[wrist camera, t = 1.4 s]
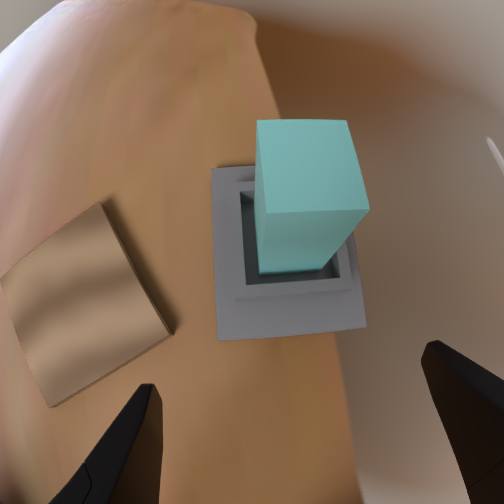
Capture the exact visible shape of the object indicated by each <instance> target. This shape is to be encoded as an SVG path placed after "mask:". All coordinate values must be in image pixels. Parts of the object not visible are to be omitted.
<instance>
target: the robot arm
mask: <svg viewBox="0 0 504 504" xmlns="http://www.w3.org/2000/svg"><path fill="white" fill-rule="evenodd" d="M421 365H422V368H423V371H424V374H425V377H426V380H427V383H428V387H429V390H430V393H431V396H432V399H433V401H434V404H435V407H436V409H437V411H438V414H439V416H440V418H441V421H442V423H443V426H444V428H445V431H446V433H447V436H448V439H449V441H450V444H451V446H452V449H453V452H454V454H455V457H456V460H457V463H458V465H459V468H460V471H461V474H462V477H463V480H464V483H465V486H466V489H467V493H468V496H469V499H470V502H471V504H504V380H502V379H501V378H499V377H498V376H496V375H494V374H493V373H491V372H490V371H488V370H486V369H485V368H483V367H482V366H480V365H478V364H477V363H475V362H474V361H472V360H470V359H469V358H467V357H465V356H464V355H462V354H461V353H459V352H457V351H456V350H454V349H452V348H451V347H449V346H448V345H446V344H444V343H443V342H441V341H439V340H435V341H431V342H429V343H427V345H426V348H425V350H424V353H423V355H422V358H421ZM162 454H163V413H162V399H161V397H160V395H159V393H158V391H157V389H156V386H155V385H154V384H141V385H140V386H139V387H138V389H137V390H136V391H135V393H134V394H133V395H132V397H131V398H130V399H129V401H128V402H127V404H126V405H125V406H124V408H123V409H122V410H121V412H120V413H119V414H118V416H117V417H116V418H115V420H114V421H113V422H112V424H111V425H110V427H109V428H108V429H107V431H106V432H105V433H104V435H103V436H102V437H101V439H100V440H99V442H98V443H97V444H96V446H95V447H94V448H93V450H92V451H91V452H90V454H89V455H88V457H87V458H86V459H85V461H84V462H85V463H82V465H81V466H80V467H79V469H78V470H77V471H76V473H75V474H74V475H73V477H72V478H71V479H70V480H69V482H68V483H67V484H66V485H65V486H64V487H63V488H62V490H61V491H60V492H59V493H58V494H57V495H56V496H55V497H54V498H53V499H52V500H51V501H50V502H49V503H48V504H159V491H160V478H161V465H162Z"/></svg>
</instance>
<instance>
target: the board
mask: <svg viewBox="0 0 504 504" xmlns="http://www.w3.org/2000/svg"><path fill="white" fill-rule="evenodd" d="M0 282H1V286H2V290H3V293H4V297H5V300H6V304H7V307H8V310H9V313H10V316H11V320H12V323H13V325H14V328H15V331H16V334H17V337H18V340H19V342H20V345H21V348H22V350H23V353H24V355H25V358H26V360H27V363H28V365H29V367H30V370H31V372H32V374H33V376H34V379H35V381H36V383H37V385H38V387H39V390H40V392H41V394H42V396H43V398H44V400H45V402H46V404H47V406H48V408H52V407H57V406H58V405H60V404H62V403H63V402H65V401H67V400H69V399H70V398H72V397H74V396H75V395H77V394H79V393H80V392H82V391H84V390H85V389H87V388H89V387H90V386H92V385H94V384H95V383H97V382H99V381H100V380H102V379H104V378H105V377H107V376H109V375H110V374H112V373H114V372H115V371H117V370H118V369H120V368H122V367H123V366H125V365H127V364H128V363H130V362H132V361H133V360H135V359H136V358H138V357H140V356H141V355H143V354H144V353H146V352H148V351H149V350H151V349H152V348H154V347H156V346H157V345H159V344H160V343H162V342H164V341H165V340H167V339H168V338H170V337H172V336H173V334H172V333H171V331H170V329H169V328H168V326H167V324H166V323H165V321H164V319H163V318H162V316H161V314H160V313H159V311H158V309H157V307H156V306H155V304H154V302H153V301H152V299H151V297H150V295H149V293H148V292H147V290H146V288H145V286H144V284H143V283H142V281H141V279H140V277H139V275H138V273H137V272H136V270H135V268H134V266H133V264H132V262H131V260H130V258H129V256H128V254H127V252H126V250H125V249H124V247H123V245H122V243H121V241H120V239H119V237H118V235H117V232H116V230H115V228H114V226H113V224H112V222H111V220H110V218H109V216H108V214H107V212H106V209H105V207H104V206H103V205H102V204H101V203H100V202H98V203H96V204H95V205H94V206H92V207H91V208H89V209H88V210H86V211H85V212H83V213H82V214H81V215H79V216H78V217H76V218H75V219H74V220H72V221H71V222H70V223H68V224H67V225H66V226H64V227H63V228H61V229H60V230H59V231H57V232H56V233H55V234H54V235H52V236H51V237H50V238H48V239H47V240H46V241H44V242H43V243H42V244H41V245H39V246H38V247H37V248H36V249H34V250H33V251H32V252H31V253H29V254H28V255H27V256H26V257H25V258H23V259H22V260H21V261H20V262H19V263H17V264H16V265H15V266H14V267H13V268H12V269H10V270H9V271H8V272H7V273H6V274H5V275H3V276H2V277H1V278H0Z"/></svg>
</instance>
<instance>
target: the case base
mask: <svg viewBox="0 0 504 504" xmlns="http://www.w3.org/2000/svg"><path fill="white" fill-rule="evenodd" d="M254 198H255V166H239V167H224V168H212V217H213V250H214V276H215V298H216V317H217V335H218V341H231V340H248V339H262V338H274V337H286V336H296V335H306V334H316V333H325V332H333V331H341V330H349V329H356V328H363V327H366V326H367V324H366V315H365V307H364V299H363V292H362V284H361V278H360V271H359V265H358V258H357V252H356V246H355V241H354V236H353V231H352V233H351V234H350V235H349V236H348V237H347V239H346V240H345V241H344V242H343V244H342V245H341V246H340V247H339V249H338V250H337V251H336V252H335V253H334V255H333V256H332V257H331V258H330V259H329V261H328V262H327V263H326V264H325V265H324V267H323V268H322V269H321V270H320V271H319V272H312V273H299V274H286V275H272V276H259V270H258V258H257V245H256V233H255V220H254Z"/></svg>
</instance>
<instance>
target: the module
mask: <svg viewBox="0 0 504 504" xmlns="http://www.w3.org/2000/svg"><path fill="white" fill-rule="evenodd" d="M369 210H370V207H369V202H368V198H367V194H366V190H365V186H364V182H363V178H362V174H361V170H360V166H359V162H358V159H357V155H356V152H355V148H354V145H353V141H352V138H351V134H350V131H349V128H348V125H347V121H346V120H313V119H311V120H310V119H306V120H304V119H302V120H301V119H298V120H297V119H295V120H294V119H292V120H291V119H289V120H257V133H256V165H255V198H254V220H255V233H256V245H257V258H258V270H259V276H272V275H286V274H299V273H312V272H319V271H320V270H321V269H322V268H323V267H324V265H325V264H326V263H327V262H328V261H329V259H330V258H331V257H332V256H333V255H334V253H335V252H336V251H337V250H338V249H339V247H340V246H341V245H342V244H343V242H344V241H345V240H346V239H347V237H348V236H349V235H350V234H351V233H352V231H353V230H354V229H355V228H356V226H357V225H358V224H359V222H360V221H361V220H362V219H363V217H364V216H365V215H366V214H367V212H368V211H369Z"/></svg>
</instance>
